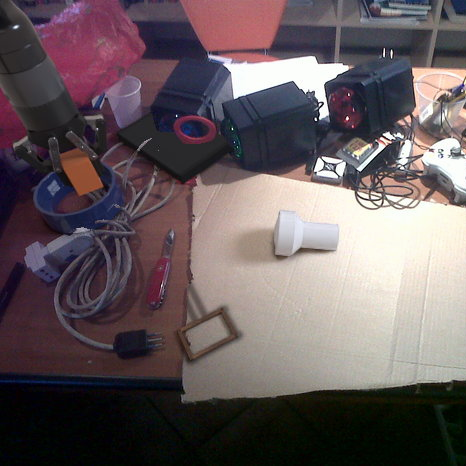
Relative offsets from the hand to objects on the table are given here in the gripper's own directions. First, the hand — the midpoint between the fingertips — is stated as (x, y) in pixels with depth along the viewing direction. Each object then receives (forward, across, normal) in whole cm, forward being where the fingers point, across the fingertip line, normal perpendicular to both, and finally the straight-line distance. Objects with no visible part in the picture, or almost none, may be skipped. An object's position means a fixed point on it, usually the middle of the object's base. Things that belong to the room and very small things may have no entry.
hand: (85, 178), depth 80 cm
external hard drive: (+16, -18, -20) cm, 31 cm away
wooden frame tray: (+15, -7, +23) cm, 29 cm away
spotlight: (+16, -29, +20) cm, 39 cm away
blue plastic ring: (+15, +3, -11) cm, 19 cm away
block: (+1, 0, 0) cm, 1 cm away
